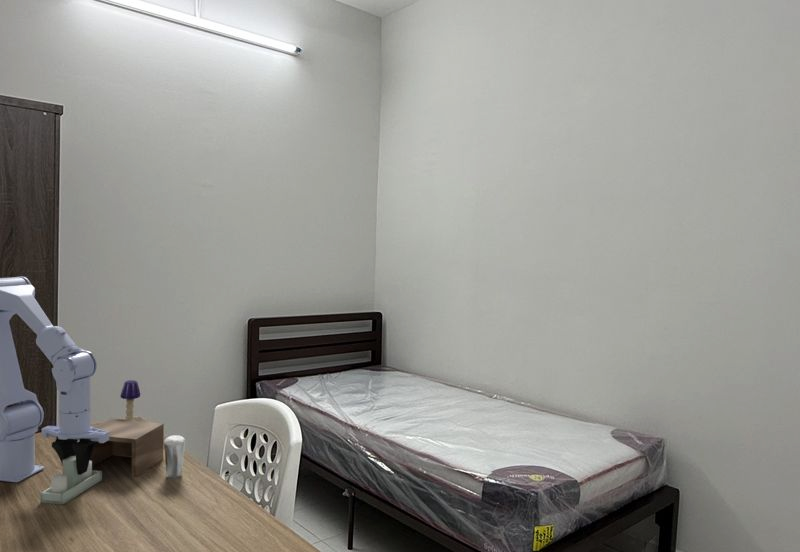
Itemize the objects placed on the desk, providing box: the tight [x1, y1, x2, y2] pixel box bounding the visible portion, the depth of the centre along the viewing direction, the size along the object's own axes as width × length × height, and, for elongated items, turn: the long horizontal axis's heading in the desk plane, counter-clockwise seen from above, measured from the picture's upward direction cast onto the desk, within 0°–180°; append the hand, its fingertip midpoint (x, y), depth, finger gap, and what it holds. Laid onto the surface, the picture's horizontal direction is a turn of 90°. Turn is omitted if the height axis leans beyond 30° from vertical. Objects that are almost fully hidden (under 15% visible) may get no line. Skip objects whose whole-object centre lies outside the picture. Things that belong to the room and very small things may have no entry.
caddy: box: [39, 456, 103, 505], centre depth 122 cm, size 5×12×7 cm, turn 171°
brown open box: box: [90, 418, 165, 478], centre depth 137 cm, size 14×11×9 cm
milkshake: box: [163, 433, 188, 479], centre depth 132 cm, size 5×5×10 cm
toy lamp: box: [120, 379, 141, 421], centre depth 149 cm, size 5×5×17 cm
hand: (75, 472), depth 124 cm, fingers closed on caddy, 2 cm apart
